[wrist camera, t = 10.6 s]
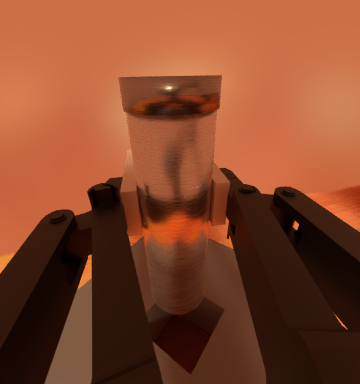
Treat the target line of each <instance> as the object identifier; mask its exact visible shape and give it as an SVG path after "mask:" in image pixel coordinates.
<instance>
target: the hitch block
mask: <svg viewBox="0 0 360 384" xmlns="http://www.w3.org/2000/svg"><path fill="white" fill-rule="evenodd" d="M131 250H132V254H133V259H134V263H135V267H136V272H137V276H138V280H139V285H140V289H141V293H142V298H143V302H144V306H145V311H146V315H147V319H148V324H149V328H150V332H151V337H152V341H153V345H154V350H155V354H156V357H157V360H158V364H159V368H160V372H161V376H162V380H163V384H266V373H265V368H264V364H263V360H262V356H261V352H260V348H259V344H258V341H257V337H256V333H255V329H254V325H253V321H252V318H251V314H250V310H249V306H248V302H247V298H246V294H245V291H244V287H243V283H242V279H241V275H240V271H239V268H238V264H237V260H236V256H235V252H234V250H233V249H231V248H229V247H227V246H224V245H222V244H220V243H218V242H216V241H213V240H211V239H209V238H208V244H207V258H206V272H205V287H204V296H203V299H202V301H201V302H200V304H199V305H198V306H197V307H196V308H195V309H194V310H192V311H190V312H188V313H185V314H181V315H183V316H184V317H185V318H187V319H188V320H189V321H191V322H192V323H194V324H195V325H196V326H198V327H199V328H201V329H202V330H203V331H205V332H206V333H208V334H209V335H210V336H211V337H210V339H209V341H208V343H207V345H206V347H205V349H204V351H203V353H202V355H201V357H200V358H199V360H198V362H197V364H196V366H195V368H194V370H193V372H192V374H191V375H190V374H189V373H188V372H187V371H186V370H185V369H183V368H182V367H181V366H180V365H179V364H178V363H177V362H176V361H174V360H173V359H172V358H171V357H170V356H169V355H168V354H166V353H165V352H164V351H163V350H162V349H161V348H160V347H158V346H157V345H156V344H155V343H154V342H155V341H156V340H157V338H158V337H159V335H160V334H161V333H162V331H163V330H164V328H165V327H166V326H167V324H168V323H169V321H170V320H171V319H172V317H173V316H174V314H170V313H167V312H164V311H163V310H161V309H160V308H159V307H158V306H157V305H156V304H155V302H154V300H153V297H152V292H151V285H150V278H149V271H148V264H147V257H146V250H145V243H144V237H142V238H141V239H140V240H139V241H137V242H136V243H135V244H134V245H132V246H131ZM91 381H92V279H91V280H89V281H88V282H87V283H86V284H84V285H83V286H82V287H81V288H79V289H78V290H77V291H76V294H75V297H74V300H73V303H72V306H71V309H70V311H69V314H68V317H67V320H66V323H65V326H64V329H63V332H62V335H61V338H60V340H59V343H58V346H57V349H56V352H55V355H54V358H53V361H52V364H51V367H50V369H49V372H48V375H47V378H46V381H45V384H91Z"/></svg>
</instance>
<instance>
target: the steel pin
mask: <svg viewBox="0 0 360 384" xmlns="http://www.w3.org/2000/svg"><path fill="white" fill-rule="evenodd" d="M221 80H222V76H221V75H211V76H209V75H208V76H207V75H206V76H154V77H152V76H151V77H119V84H120V91H121V98H122V105H123V110H124V111H125V112H126V115H127V123H128V130H129V136H130V144H131V151H132V158H133V165H134V172H135V179H136V184H137V191H138V198H139V205H140V212H141V219H142V226H143V236H144V243H145V250H146V257H147V264H148V271H149V278H150V285H151V292H152V297H153V300H154V302H155V304H156V305H157V306H158V307H159V308H160V309H161V310H163V311H164V312H167V313H170V314H175V315H180V314H185V313H188V312H190V311H192V310H194V309H195V308H196V307H197V306H198V305H199V304H200V302H201V301H202V299H203V296H204V287H205V272H206V258H207V244H208V230H209V215H210V201H211V187H212V173H213V158H214V143H215V129H216V115H217V109H219V107H220V94H221V93H220V92H221Z"/></svg>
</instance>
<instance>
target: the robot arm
mask: <svg viewBox="0 0 360 384" xmlns="http://www.w3.org/2000/svg"><path fill="white" fill-rule="evenodd" d="M88 196H89V199H90V203H91V206H92V210H91V211H89V212H86V213H84V214H80V215H77V216H75V215H74V213H73V212H72V211H71V210H57V211H54V212H51V213H50V214H48V215H46V216H45V217H44V218H43V219H42V220H41V221H40V222H39V224H38V225H37V226H36V228H35V229H34V230H33V231H32V233H31V234H30V235H29V237H28V238H27V239H26V241H25V242H24V243H23V245H22V246H21V247H20V249H19V250H18V251H17V253H16V254H15V255H14V256H13V258H12V259H11V260H10V262H9V263H8V264H7V266H6V267H5V268H4V270H3V271H2V272H1V274H0V384H45V381H46V378H47V375H48V372H49V369H50V367H51V364H52V361H53V358H54V355H55V352H56V349H57V346H58V343H59V340H60V338H61V335H62V332H63V329H64V326H65V323H66V320H67V317H68V314H69V311H70V309H71V306H72V303H73V300H74V297H75V294H76V291H77V288H78V285H79V283H80V280H81V277H82V274H83V271H84V268H85V265H86V262H87V259H88V255H91V254H92V381H91V384H163V380H162V376H161V372H160V368H159V364H158V360H157V357H156V354H155V350H154V345H153V341H152V337H151V332H150V328H149V324H148V319H147V315H146V311H145V306H144V302H143V298H142V293H141V289H140V285H139V280H138V276H137V272H136V267H135V263H134V259H133V254H132V250H131V246H130V242H129V237H128V236H133V235H141V234H143V226H142V219H141V212H140V205H139V198H138V191H137V184H136V179H135V172H134V165H133V158H132V151H131V149H128V152H127V157H126V163H125V168H124V173H123V177H119V178H110V179H109V180H108V181H107V182H106V183H101V184H97V185H95V186H92V187H91V188H90V189H89V190H88ZM226 216H227V218H228V220H229V225H228V233H227V239H229V236H230V237H231V241H232V245H233V248H234V252H235V256H236V260H237V264H238V268H239V271H240V275H241V279H242V283H243V287H244V291H245V294H246V298H247V302H248V306H249V310H250V314H251V318H252V321H253V325H254V329H255V333H256V337H257V341H258V344H259V348H260V352H261V356H262V360H263V364H264V368H265V373H266V384H360V232H358V231H357V230H356V229H354V228H353V227H351V226H350V225H348V224H347V223H345V222H344V221H342V220H341V219H340V218H338V217H337V216H335V215H334V214H332V213H331V212H329V211H328V210H326V209H325V208H323V207H322V206H321V205H319V204H318V203H316V202H315V201H313V200H312V199H310V198H309V197H307V196H306V195H305V194H303V193H301V192H300V191H298V190H296V189H294V188H291V187H286V186H285V187H278V188H276V189H275V192H274V195H270V194H261V193H260V191H259V190H258V189H257V188H256V187H254V186H251V185H247V184H243V183H242V182H241V181H240V180H239V179H238V178H237V177H236V176H235V175H234V173H233V172H232V171H230V170H228V169H226V168H218V167H217V166H216V164H215V163H214V162H213V173H212V187H211V201H210V215H209V220H210V222H211V224H212V226H214V225H223V224H225V221H226ZM295 221H296V222H297V223H299V227H298V229H297V230H295V229H294V228H293V225H294V222H295ZM127 231H128V233H127ZM333 312H334V313H335V314H334V313H333ZM335 315H336V316H337V317H338V318H339V319H340V320H341V322H342V323H343V324H344V325H345V326H346V327H347V329H348V330H347V329H346V328H344V327H343V326H342V325H341V323H340V322H339V321H338V319H337V318H336V316H335Z"/></svg>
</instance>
